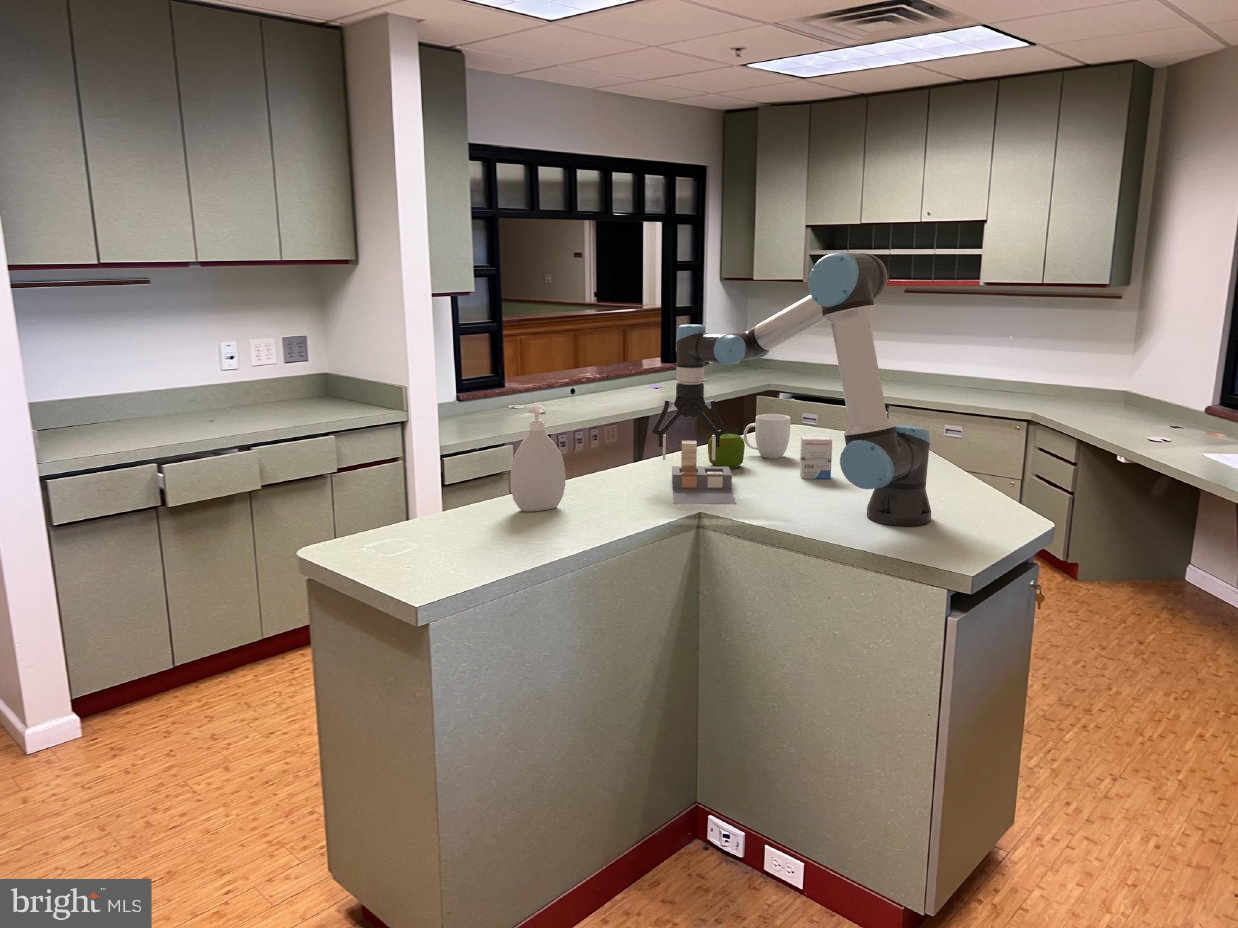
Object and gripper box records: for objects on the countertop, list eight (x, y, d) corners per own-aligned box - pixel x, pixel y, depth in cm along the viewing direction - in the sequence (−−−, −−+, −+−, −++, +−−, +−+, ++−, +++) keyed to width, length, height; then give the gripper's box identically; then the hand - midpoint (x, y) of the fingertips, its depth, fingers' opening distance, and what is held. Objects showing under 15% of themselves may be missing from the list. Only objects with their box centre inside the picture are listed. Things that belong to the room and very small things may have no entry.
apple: (745, 463, 275) (747, 429, 272) (741, 471, 264) (742, 435, 262) (710, 461, 278) (711, 427, 275) (704, 469, 267) (705, 434, 265)
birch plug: (696, 486, 242) (696, 443, 239) (681, 486, 242) (682, 443, 239) (695, 482, 246) (696, 440, 243) (681, 482, 246) (681, 440, 243)
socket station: (736, 508, 224) (737, 487, 223) (673, 507, 225) (673, 487, 224) (728, 483, 250) (728, 464, 248) (671, 483, 250) (671, 464, 249)
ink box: (828, 475, 259) (830, 436, 257) (830, 479, 255) (832, 439, 252) (798, 474, 260) (800, 435, 258) (800, 478, 255) (802, 439, 253)
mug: (739, 457, 283) (740, 417, 280) (746, 451, 293) (747, 412, 290) (785, 461, 278) (787, 420, 275) (791, 454, 288) (793, 415, 285)
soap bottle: (517, 517, 217) (514, 409, 211) (507, 509, 224) (504, 404, 218) (572, 510, 223) (570, 405, 217) (561, 502, 230) (559, 400, 224)
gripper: (735, 380, 241) (733, 456, 245) (644, 380, 242) (643, 455, 246) (737, 384, 233) (735, 462, 238) (643, 384, 234) (643, 461, 239)
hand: (688, 459), depth 242 cm, fingers open, 13 cm apart
